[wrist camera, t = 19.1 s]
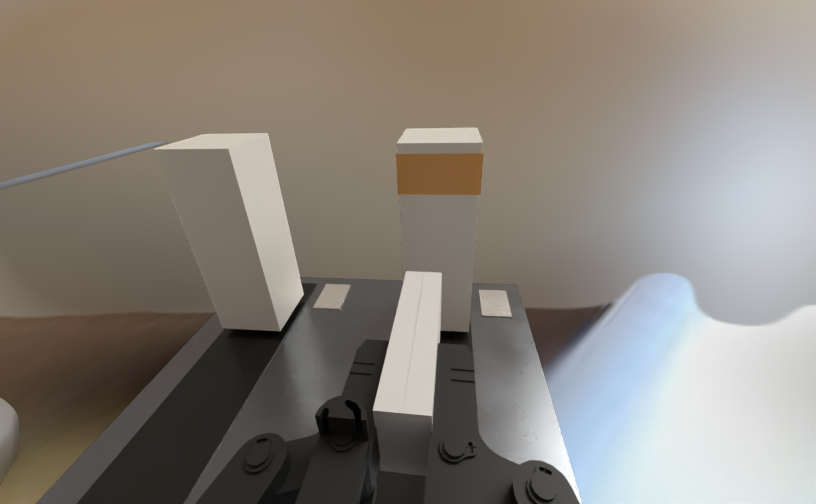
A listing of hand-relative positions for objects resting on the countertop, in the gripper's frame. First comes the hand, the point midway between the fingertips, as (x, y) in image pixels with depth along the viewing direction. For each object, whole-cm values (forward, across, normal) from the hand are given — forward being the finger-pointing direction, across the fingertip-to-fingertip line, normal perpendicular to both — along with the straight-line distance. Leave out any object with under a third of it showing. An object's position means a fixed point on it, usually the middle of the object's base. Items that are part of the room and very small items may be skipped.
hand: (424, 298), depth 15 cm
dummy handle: (+6, -12, -6) cm, 14 cm away
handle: (+7, 0, -6) cm, 9 cm away
